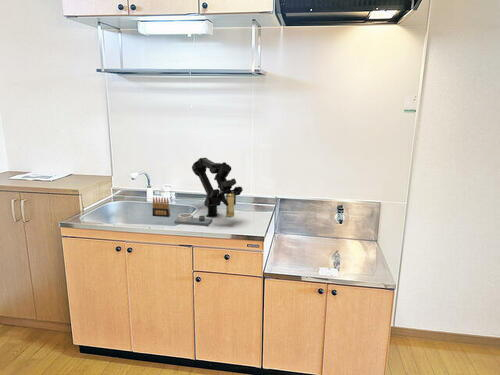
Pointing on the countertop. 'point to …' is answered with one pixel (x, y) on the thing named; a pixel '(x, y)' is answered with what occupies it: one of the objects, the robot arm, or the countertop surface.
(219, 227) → the countertop surface
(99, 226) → the countertop surface
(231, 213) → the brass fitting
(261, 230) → the countertop surface
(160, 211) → the ammunition clip
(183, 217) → the grey flat piece
